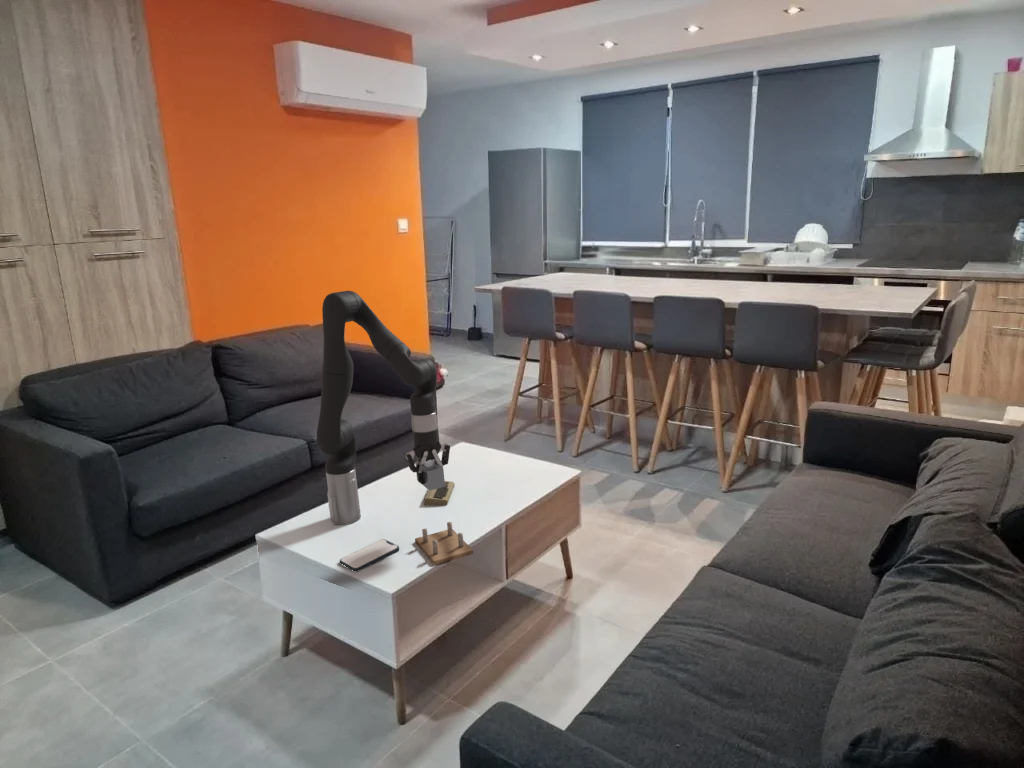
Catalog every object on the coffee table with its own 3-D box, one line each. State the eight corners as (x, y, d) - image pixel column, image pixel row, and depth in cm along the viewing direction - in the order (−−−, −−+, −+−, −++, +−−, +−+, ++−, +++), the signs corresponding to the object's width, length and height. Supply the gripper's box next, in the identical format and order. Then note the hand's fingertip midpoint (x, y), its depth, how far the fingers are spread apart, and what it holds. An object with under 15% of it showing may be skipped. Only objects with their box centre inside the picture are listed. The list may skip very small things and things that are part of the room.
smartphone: (355, 575, 186) (401, 551, 197) (355, 569, 185) (400, 546, 197) (338, 565, 192) (383, 542, 203) (337, 559, 191) (382, 537, 202)
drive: (429, 490, 195) (427, 470, 193) (417, 480, 203) (415, 461, 202) (445, 486, 197) (443, 466, 196) (432, 476, 206) (430, 457, 204)
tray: (434, 565, 187) (432, 548, 186) (415, 542, 201) (413, 526, 200) (473, 553, 193) (472, 537, 191) (452, 532, 206) (450, 516, 205)
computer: (447, 506, 226) (447, 497, 225) (424, 506, 227) (423, 497, 226) (455, 487, 241) (454, 479, 240) (432, 488, 242) (432, 479, 241)
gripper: (406, 435, 190) (412, 491, 194) (452, 425, 196) (457, 479, 200) (397, 429, 196) (403, 483, 200) (442, 419, 202) (447, 471, 207)
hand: (430, 480), depth 200 cm, fingers closed on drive, 5 cm apart
